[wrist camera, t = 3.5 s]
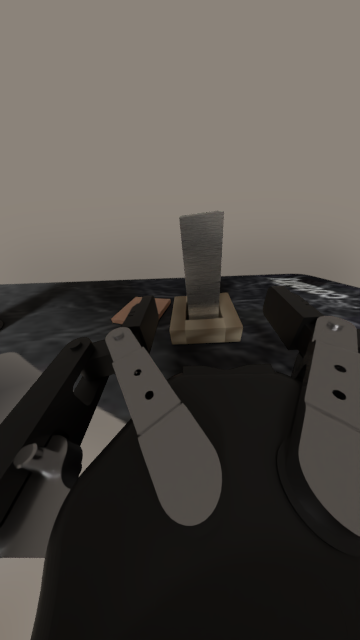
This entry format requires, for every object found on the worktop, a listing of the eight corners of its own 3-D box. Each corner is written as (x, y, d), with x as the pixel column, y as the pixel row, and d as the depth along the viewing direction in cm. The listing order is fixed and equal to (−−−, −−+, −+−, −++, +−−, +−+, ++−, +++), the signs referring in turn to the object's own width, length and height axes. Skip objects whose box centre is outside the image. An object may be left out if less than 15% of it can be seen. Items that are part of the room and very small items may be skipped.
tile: (112, 322, 26) (110, 319, 26) (136, 300, 32) (135, 296, 32) (152, 328, 24) (151, 324, 23) (170, 302, 29) (170, 299, 29)
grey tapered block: (190, 331, 22) (179, 217, 14) (190, 315, 25) (181, 215, 17) (217, 330, 21) (223, 211, 13) (214, 314, 25) (217, 210, 16)
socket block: (172, 344, 20) (169, 330, 19) (176, 308, 27) (174, 296, 26) (240, 341, 19) (242, 326, 18) (226, 305, 26) (227, 292, 25)
